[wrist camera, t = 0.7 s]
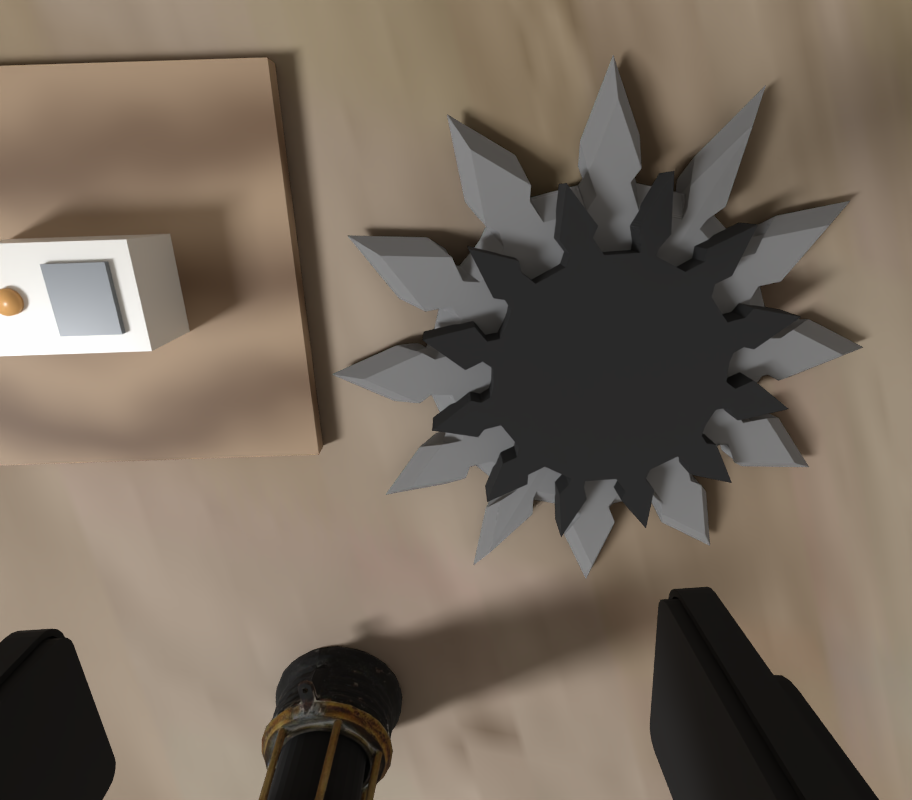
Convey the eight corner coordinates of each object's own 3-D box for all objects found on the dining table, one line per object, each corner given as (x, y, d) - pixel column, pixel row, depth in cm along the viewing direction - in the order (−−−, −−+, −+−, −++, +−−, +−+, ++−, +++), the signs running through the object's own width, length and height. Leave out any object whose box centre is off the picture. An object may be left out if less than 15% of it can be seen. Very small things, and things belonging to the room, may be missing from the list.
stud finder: (10, 238, 28) (-66, 246, 23) (170, 233, 28) (122, 239, 24) (39, 336, 29) (-26, 358, 25) (189, 331, 29) (148, 352, 25)
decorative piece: (683, 676, 35) (232, 495, 30) (661, 630, 39) (255, 463, 34) (1049, 236, 26) (488, -130, 21) (975, 231, 30) (482, -81, 25)
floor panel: (-339, 82, 26) (-375, 77, 25) (275, 63, 26) (267, 57, 25) (-161, 462, 33) (-183, 472, 32) (323, 445, 33) (318, 454, 32)
